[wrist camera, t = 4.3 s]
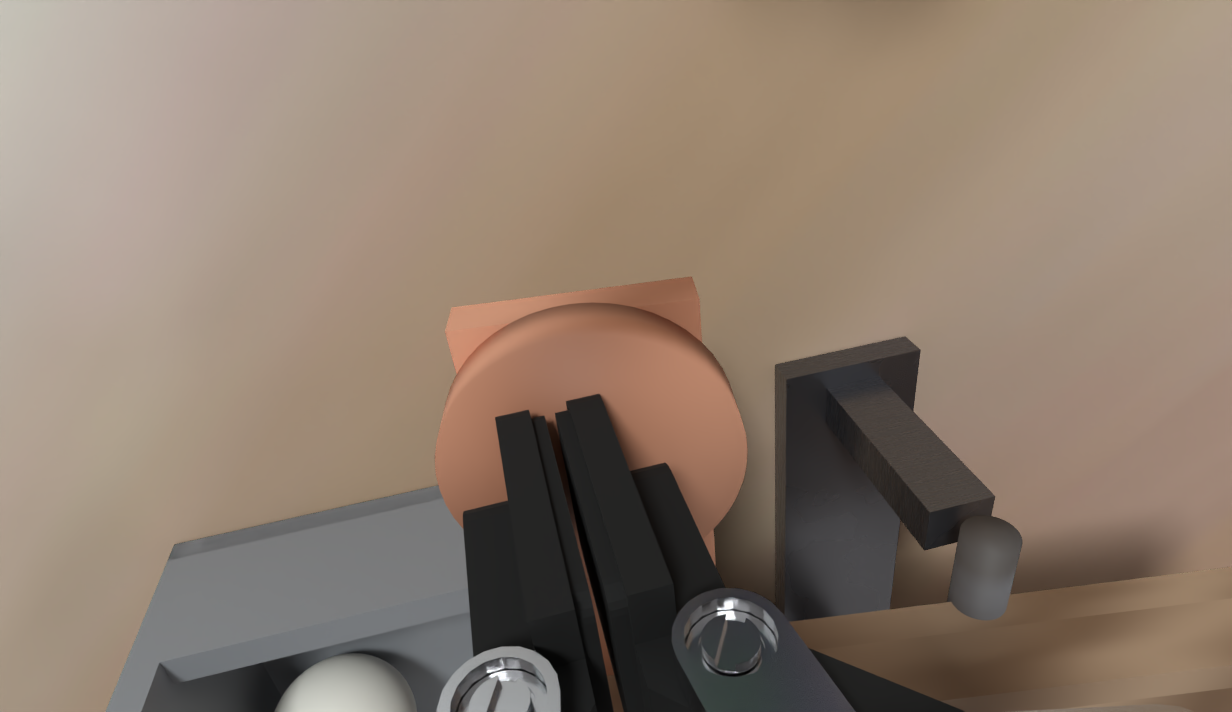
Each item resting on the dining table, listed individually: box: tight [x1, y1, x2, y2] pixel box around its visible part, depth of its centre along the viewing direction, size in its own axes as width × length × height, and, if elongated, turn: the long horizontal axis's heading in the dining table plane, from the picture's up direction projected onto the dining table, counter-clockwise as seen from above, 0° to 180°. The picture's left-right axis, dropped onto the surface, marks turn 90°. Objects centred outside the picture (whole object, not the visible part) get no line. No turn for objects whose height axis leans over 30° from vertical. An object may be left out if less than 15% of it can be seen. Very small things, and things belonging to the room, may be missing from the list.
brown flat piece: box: [435, 277, 1232, 712], centre depth 17 cm, size 21×21×3 cm
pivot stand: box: [775, 337, 995, 622], centre depth 23 cm, size 4×15×6 cm, turn 7°
